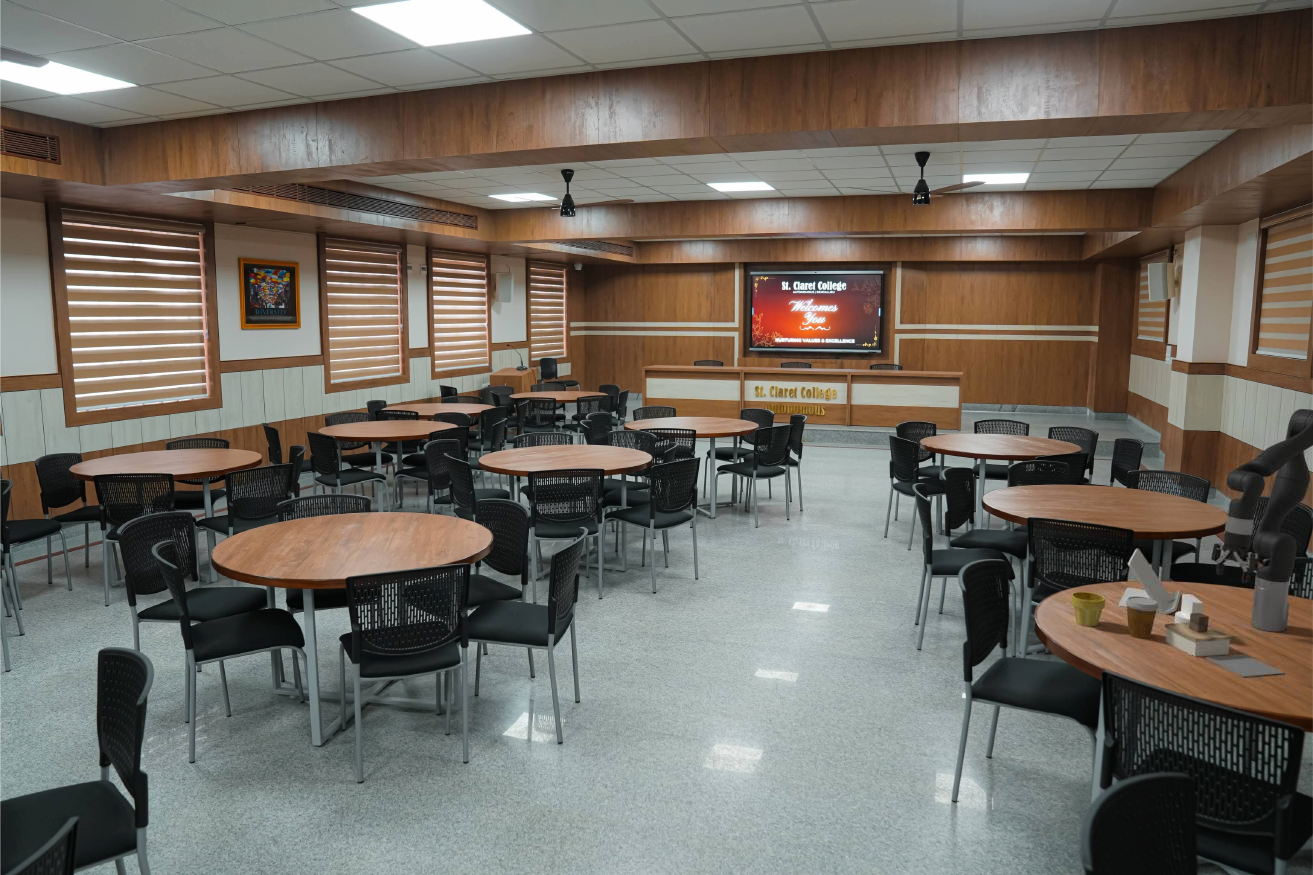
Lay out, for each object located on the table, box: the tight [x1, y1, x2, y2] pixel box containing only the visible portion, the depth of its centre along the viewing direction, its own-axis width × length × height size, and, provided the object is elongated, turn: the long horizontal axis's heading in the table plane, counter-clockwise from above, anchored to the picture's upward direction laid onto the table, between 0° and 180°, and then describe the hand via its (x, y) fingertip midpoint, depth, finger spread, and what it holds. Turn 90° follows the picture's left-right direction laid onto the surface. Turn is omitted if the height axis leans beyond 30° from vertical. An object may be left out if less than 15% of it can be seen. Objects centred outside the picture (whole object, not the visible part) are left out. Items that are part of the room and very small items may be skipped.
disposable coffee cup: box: [1126, 596, 1159, 640], centre depth 282 cm, size 10×10×12 cm
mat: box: [1205, 654, 1285, 678], centre depth 257 cm, size 14×14×1 cm
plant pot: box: [1070, 591, 1106, 627], centre depth 293 cm, size 10×10×10 cm
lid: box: [1164, 612, 1234, 642], centre depth 270 cm, size 13×13×6 cm
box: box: [1165, 628, 1231, 658], centre depth 271 cm, size 12×12×5 cm
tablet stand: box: [1118, 548, 1182, 615], centre depth 314 cm, size 18×25×17 cm
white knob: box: [1174, 593, 1204, 623], centre depth 283 cm, size 9×9×12 cm
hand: (1232, 578), depth 282 cm, fingers open, 8 cm apart
